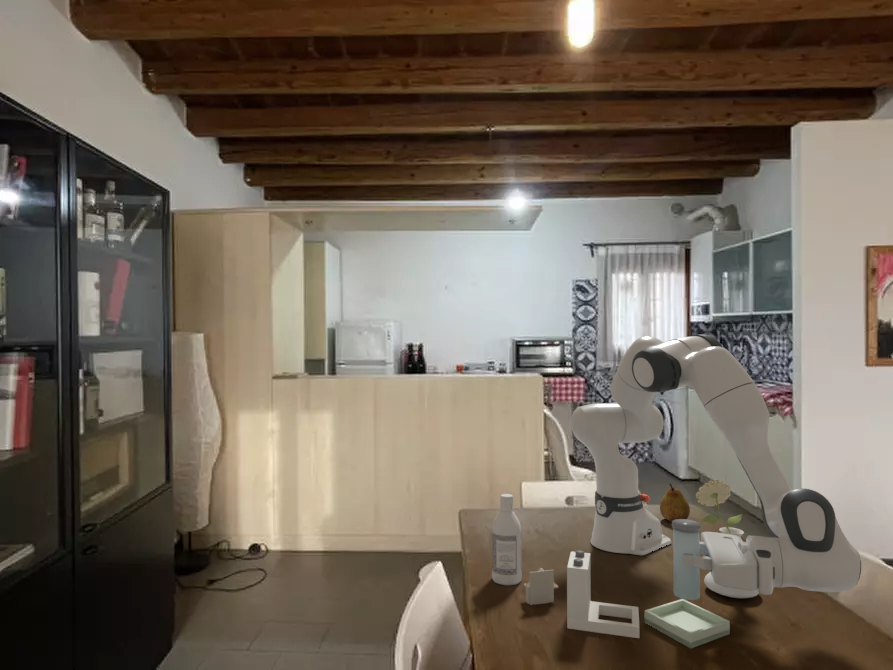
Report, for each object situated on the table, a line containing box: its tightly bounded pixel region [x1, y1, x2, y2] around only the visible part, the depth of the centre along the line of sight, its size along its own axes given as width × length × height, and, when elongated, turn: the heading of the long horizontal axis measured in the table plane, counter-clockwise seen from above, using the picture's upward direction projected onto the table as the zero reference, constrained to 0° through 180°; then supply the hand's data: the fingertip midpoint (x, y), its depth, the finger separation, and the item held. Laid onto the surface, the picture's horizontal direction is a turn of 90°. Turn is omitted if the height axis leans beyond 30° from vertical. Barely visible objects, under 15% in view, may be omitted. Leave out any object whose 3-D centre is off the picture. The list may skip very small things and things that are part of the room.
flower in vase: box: [695, 479, 760, 599], centre depth 132 cm, size 13×11×25 cm
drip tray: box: [644, 598, 731, 649], centre depth 116 cm, size 11×11×2 cm
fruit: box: [659, 483, 691, 523], centre depth 183 cm, size 9×9×12 cm
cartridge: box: [671, 518, 701, 601], centre depth 116 cm, size 5×5×14 cm
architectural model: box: [523, 567, 559, 606], centre depth 128 cm, size 3×7×7 cm, turn 104°
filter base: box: [566, 549, 640, 639], centre depth 118 cm, size 14×9×13 cm, turn 73°
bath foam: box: [491, 493, 523, 586], centre depth 139 cm, size 7×7×20 cm
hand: (681, 553), depth 116 cm, fingers closed on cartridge, 5 cm apart
